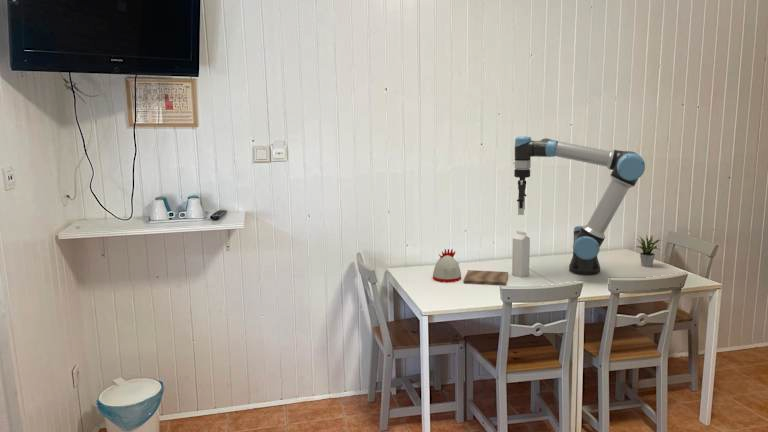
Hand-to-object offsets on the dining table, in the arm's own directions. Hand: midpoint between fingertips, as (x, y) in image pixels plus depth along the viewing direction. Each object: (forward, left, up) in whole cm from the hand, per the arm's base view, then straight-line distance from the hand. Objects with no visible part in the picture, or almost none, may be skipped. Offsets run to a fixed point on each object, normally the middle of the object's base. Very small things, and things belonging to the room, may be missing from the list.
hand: (521, 212), depth 304 cm
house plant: (-63, -27, -32) cm, 76 cm away
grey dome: (+35, +12, -32) cm, 49 cm away
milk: (0, 0, -32) cm, 32 cm away
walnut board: (+16, +10, -32) cm, 37 cm away
